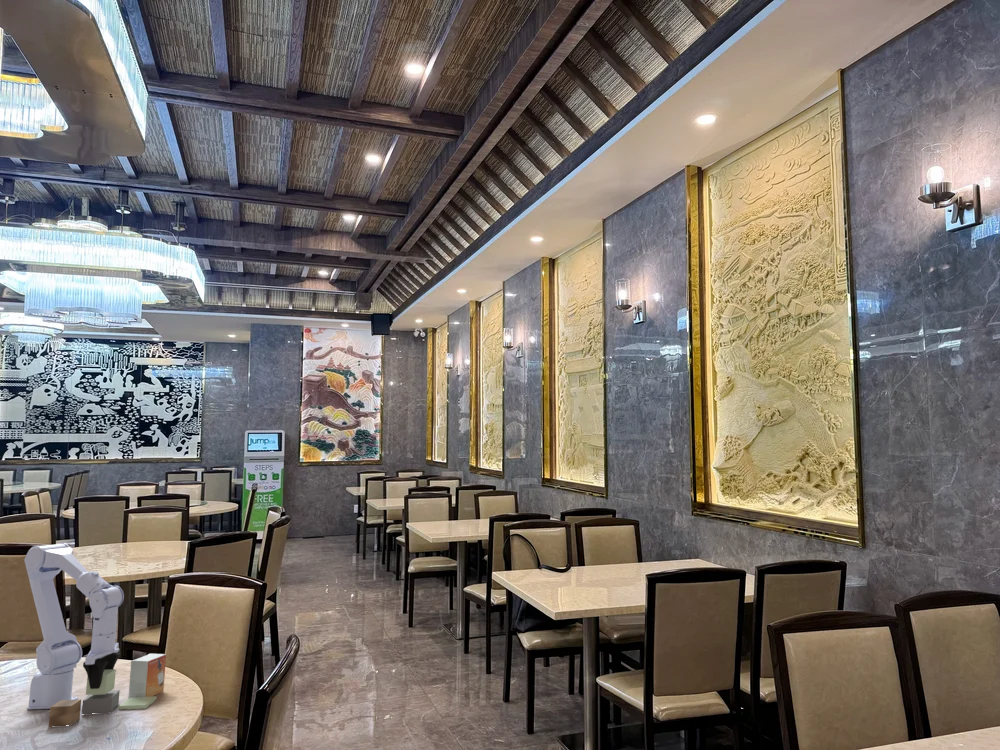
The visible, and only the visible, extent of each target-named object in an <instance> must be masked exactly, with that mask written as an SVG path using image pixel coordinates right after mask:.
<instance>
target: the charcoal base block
mask: <svg viewBox="0 0 1000 750" xmlns="http://www.w3.org/2000/svg"><path fill="white" fill-rule="evenodd" d="M120 691H121V690H120V689H113V690H111V691H110V692H108V693H107V694H98V695H86V697H85V698H84V699H82V703H81V715H82V714H92V713H103V714H109V713H108V712H111V713H112V712H113V711H114V710H115V709H116V708H117V706H119V701H120ZM115 707H116V708H115ZM114 708H115V709H114ZM113 709H114V710H113ZM112 710H113V711H112ZM92 715H93V714H92Z"/></svg>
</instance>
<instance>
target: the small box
mask: <svg viewBox="0 0 1000 750" xmlns="http://www.w3.org/2000/svg"><path fill="white" fill-rule="evenodd" d="M166 660H167V653H165V654H164V653H148V654H146V655H143V656H141V657H138V658H136V659H133V660H130V670H129V671H130V672H129V683H128V684H129V686H128V697H127V698H128V699H129V698H130V697H150V696H157V695H158V693H159V694H161V693H163V692H164V690H165V677H166V676H165V675H166V674H165V673H166ZM162 691H163V692H162ZM160 692H161V693H160Z"/></svg>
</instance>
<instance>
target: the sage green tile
mask: <svg viewBox="0 0 1000 750" xmlns="http://www.w3.org/2000/svg"><path fill="white" fill-rule="evenodd" d="M155 700H156V701H157V695H154V696H150V697H130V698H128V699H126V700H125V701H123V702H122V703H121V704H120V705H119V704H118V710H119V709H127V710H143V709H144V710H146V709H148V708H149V707H150V706H151V705H152V704H153V703H154V702H156V701H155ZM150 704H151V705H150ZM149 705H150V706H149Z"/></svg>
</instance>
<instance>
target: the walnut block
mask: <svg viewBox="0 0 1000 750" xmlns="http://www.w3.org/2000/svg"><path fill="white" fill-rule="evenodd" d="M81 711H82V699H80V698H79V699H76V700H61V701H59V702H57V703H56V704H54V705H52V706H51V707H50V709H49V716H48V717H49V718H48V728H53V727H52V726H66V725H71V724H72V723H74V722H75V721H77V720H78V719H79V720H81ZM79 720H78V721H79ZM78 721H77V722H78ZM75 723H76V722H75ZM75 723H74V724H75ZM72 725H73V724H72ZM72 725H71V726H72Z"/></svg>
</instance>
